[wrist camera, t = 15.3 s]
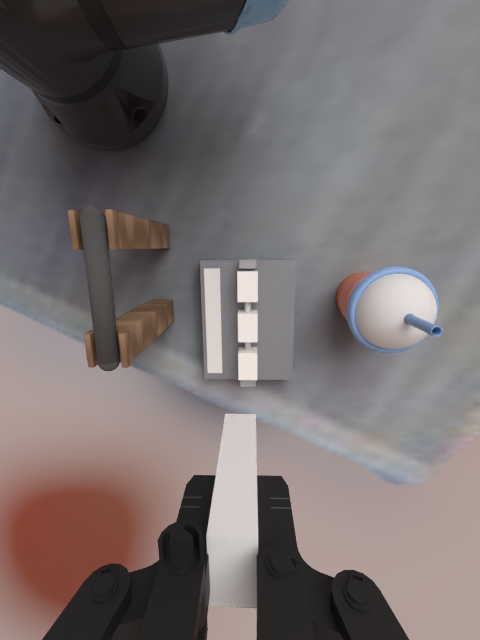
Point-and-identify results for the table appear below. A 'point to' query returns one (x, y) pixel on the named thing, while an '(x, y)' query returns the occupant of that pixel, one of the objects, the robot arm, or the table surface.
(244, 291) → the breaker paddles
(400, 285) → the cup with straw
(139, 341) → the posts
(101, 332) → the dark grey rod
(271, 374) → the breaker panel
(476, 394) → the table surface
